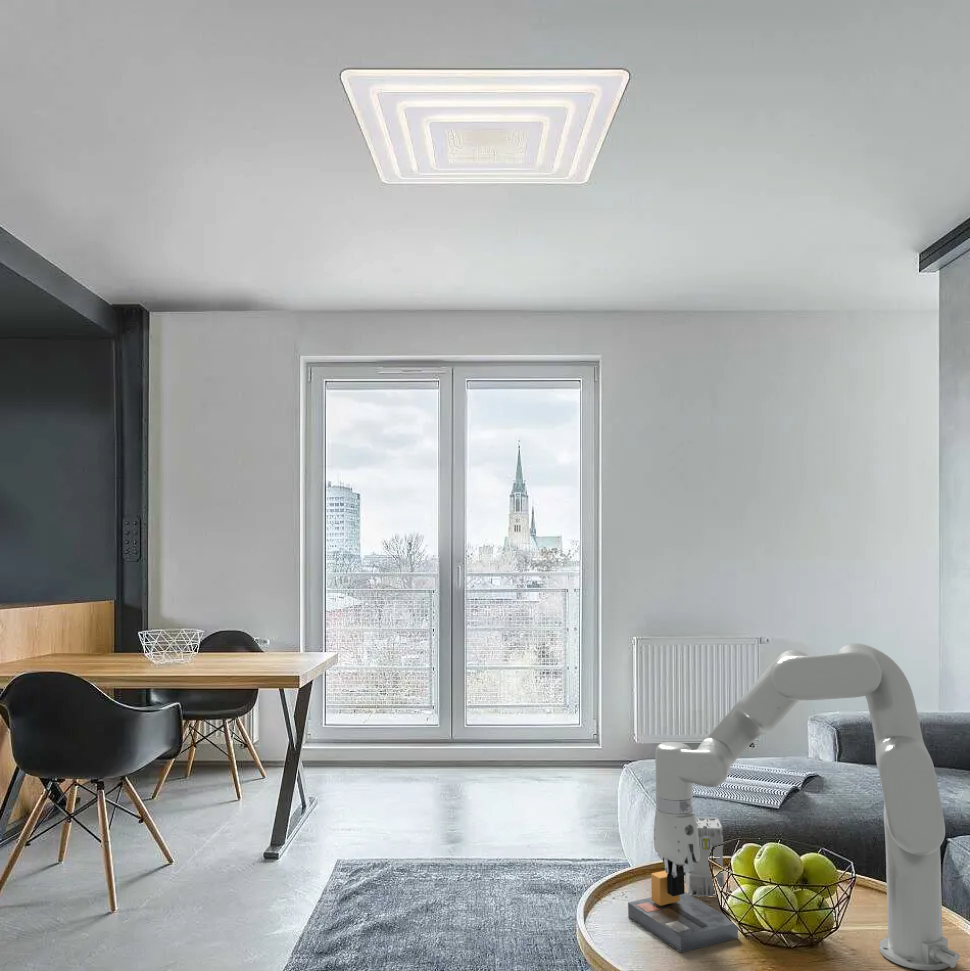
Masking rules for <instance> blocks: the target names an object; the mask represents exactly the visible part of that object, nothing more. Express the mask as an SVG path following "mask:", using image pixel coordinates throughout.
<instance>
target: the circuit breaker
mask: <svg viewBox="0 0 970 971" xmlns="http://www.w3.org/2000/svg"><path fill="white" fill-rule="evenodd" d="M695 818H696V823H697V829H698V837H699V851H700V860H699V862H698V863H694V862H693V867H694V872H690V873H686V875H684V883H685V885H686V889H687V893H688V894H689V895H691V896H693V897H694V896H699V897H700V896H701V897H702V896H716V895H713V894H715V890H714V886H713V881H712V876H711V873H710V867H709V862H708V857H709V855H710V851H711V849H712V847H713V846H715V845H719V844H723V845H720V846H717V847H715V849H714V850H713V856H714V857H720V858H716V860H715V861H716V862H717V863H718V864H720V865H721V866H722V867H723V868H724V856H723V855H724V854H723V853H724V852H723V849H724V835H723V830H724V829H723V826H722V824H721V822H720V820H719V817H718V816H695ZM716 878H717V881H718V884H719V886H720V887H722V886H723V884H724V885H725V881H724V880H725V879H724V878H725V876H724V872H723V873H720V874H717V876H716ZM694 893H696V894H694ZM701 897H700V898H701ZM702 898H703V897H702Z"/></svg>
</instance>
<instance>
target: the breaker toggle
mask: <svg viewBox="0 0 970 971" xmlns="http://www.w3.org/2000/svg"><path fill="white" fill-rule="evenodd" d="M650 877H651V879H650V880H651V883H650V884H651V897H652V901H653V902H655V903H657V904H658V905H660V906H661V905H666V904H670V903H674V902H679V901H680V895H677V896H671V894H668V893H667V873H666V872H665V870H661V871H657V872H653V873H651V876H650Z"/></svg>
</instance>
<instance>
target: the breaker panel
mask: <svg viewBox="0 0 970 971" xmlns="http://www.w3.org/2000/svg"><path fill="white" fill-rule="evenodd" d="M627 910H628V912H627V913H628V914H627V915H628V917H627V918H629V917H630V918H629V919H631V920H632V919H633V920H634V922H635V923H636V922H637V923H636V924H638V925H639V924H640V925H639V926H641V927H642V928H644V929H645V930H646V931H649V933H651V934H653V935H654V936H655V937H656V938H659V939H660V940H661V941H662V942H665V944H667V945H669V946H670V947H672V948H673V949H675V950H676V951H677V952H678V953H681V954H682V953H685V952H689V951H693V950H697V949H701V948H705V947H708V946H709V947H710V946H712V945H716V944H721V943H724V942H727V941H728V942H729V941H732V940H735V939H738V938H739V926H738V927H737V926H736V925H735V924H734V923H733V922H732V921H730V920H729V919H728V918H727V917H728V916H727V915H726V914H723V913H722V912H720V911H718V910H717V909H715V908H713V907H711V906H709V905H708V904H706V903H705V902H703V901H701V900H699V899H697V898H696V897H694V896H691V895H689V893H688V892H685V893H684V894H682V895H680V901H679V902H674V903H670V904H666V905H661V906H660V905H658V904H657V903H655V902H653V901H652V896H651V897H647V898H642V899H638V900H634V901H630V902H629V901H628V902H627ZM726 916H727V917H726ZM633 920H632V921H633Z"/></svg>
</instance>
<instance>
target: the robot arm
mask: <svg viewBox="0 0 970 971" xmlns="http://www.w3.org/2000/svg"><path fill="white" fill-rule="evenodd" d="M862 697H864V698H865V700H866V702H867V706H868V707H867V708H868V712H869V716H870V721H871V726H872V733H873V737H874V746H875V762H876V766H877V771H878V776H879V779H880V785H881V786H880V787H881V792H882V797H883V802H884V803H883V824H884V837H885V838H884V839H885V863H886V864H885V866H886V868H885V872H886V904H887V905H886V909H887V910H886V911H887V912H886V913H887V915H886V916H887V936H886V937H884V938H883V939H881V940H880V941H879V951H880V953H881V954H882V956H883V957H885V958H886V960H888V961H889V962H890V961H891V962H892V963H894V964H897V965H899V966H902V967H905V968H909V969H912V970H919V971H940V970H945V969H947V968H949V967H950V968H951V969H954V968H956V966H957V964H958V961H959V959H960V953H959V952H956V951H954V950H952V949H949V940H948V938H947V937H944V936H943V935H944V934H943V933H944V932H943V908H942V907H943V906H942V905H943V904H942V902H943V901H942V864H941V861H942V860H941V845H942V844H943V842H944V841H945V836H946V824H945V818H944V811H943V807H942V801H941V797H940V796H941V795H940V790H939V784H938V780H937V779H938V778H937V773H936V770H935V767H934V762H933V759H932V758H931V755H930V753H929V751H928V748H927V747H926V744H925V742H924V738H923V733H922V729H921V725H920V719H919V714H918V710H917V706H916V701H915V696H914V693H913V690H912V687H911V685H910V682H909V680H908V679H907V676H906V674H905V673H904V671H903V670H902V668H900V666H899V665H898V664H897V663H896V662H895V661H894V660H893V659H892V658H891V657H889V656H888V655H887V654H885V652H883V651H881V650H879V649H877V648H874V647H872V646H870V645H866V644H863V643H856V642H855V643H849V644H846V645H843V646H842V647H841V648H839V649H838V651H837V652H836V653H830V654H817V655H816V654H815V655H813V654H812V655H808V654H807V653H805V652H804V651H801V650H797V649H790V650H786V651H784V652H782V653H781V654H779V656H777V657H776V659H775V660H773V661H772V663H771V664H770V665H769V666H768V667H767V668H766V670H765V671H764V672H763V673H762V674H761V675H760V676H759V677H758V678H757V679H756V681H755V682H754V683H753V684H752V685H751V686H750V688H748V690H747V691H746V692H745V693H744V694H743V695H742V696H741V697H740V699H738V701H737V702H735V704H734V705H733V707H732V708H731V710H730V711H728V713H727V714H726V715H725V716H724V718H723V719H721V721H719V723H718V724H717V725H716V726H715V727H714V728H713V729H712V730H711V731H710V733H709V734H708V735H707V736H706V737H705V738H704V740H703V741H701V743H700V744H699V745H698V747H697V749H691V747H690V746H689V745H688V744H687V743H682V742H677V741H665V742H662V743H659V744H657V746H656V748H655V754H654V755H655V758H654V759H655V760H654V761H655V814H654V824H653V845H654V851H655V852H656V853H657V857H658V858H659V859H660V860H661V861H662V862H663V865H664V871H665V872H666V873H667V893H668V894H671V896H677V895H682V894H684V893H685V889H686V888H685V875H686V873H690V872H694V867H693V862H694V863H698V862H699V860H700V851H699V837H698V829H697V823H696V818H695V817H696V815H695V813H694V804H693V803H694V798H693V797H694V795H693V794H694V790H693V789H694V787H693V786H694V784H695V785H699V786H702V787H707V788H714V787H719V786H721V785H723V783H725V781H726V780H727V779H728V776H729V773H730V769H731V766H732V765H733V764H734V763H735V762H736V760H738V758H739V757H740V756H741V755H742V754H743V753H744V752H745V751H746V750H747V749H748V748H749V747H750V745H751V744H752V743H754V742H755V741H756V740H757V739H759V738H760V737H761V736H763V735H766V734H769V733H770V732H771V731H773V730H774V729H775V728H776V727H777V726H778V725H779V724H780V723H781V721H782V720H783V719H784V718H785V717H786V716H787V715H788V713H789V712H790V711H791V710H792V709H793V708H794V707H795V706H796V705H797V703H799V702H800V701H823V700H836V699H837V700H838V699H851V698H852V699H853V698H854V699H855V698H862Z"/></svg>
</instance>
